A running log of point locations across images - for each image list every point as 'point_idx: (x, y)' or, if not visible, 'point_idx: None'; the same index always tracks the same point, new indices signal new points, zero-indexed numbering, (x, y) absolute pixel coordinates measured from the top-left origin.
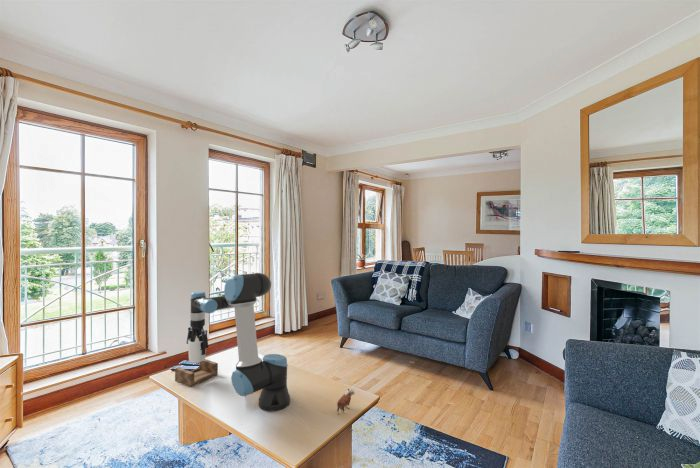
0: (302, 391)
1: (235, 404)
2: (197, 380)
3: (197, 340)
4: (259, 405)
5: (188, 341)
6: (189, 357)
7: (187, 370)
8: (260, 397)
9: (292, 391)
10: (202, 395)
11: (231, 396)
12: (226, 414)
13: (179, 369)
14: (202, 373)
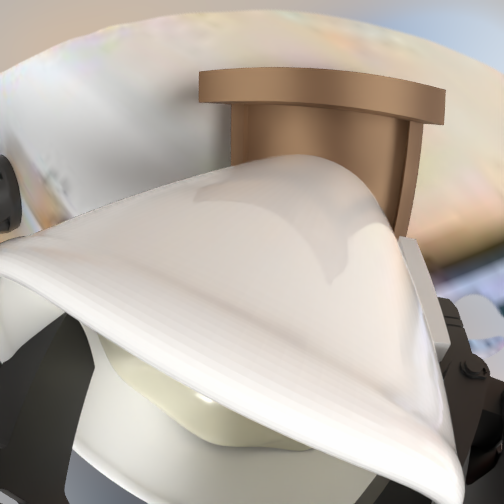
0: None
1: (31, 126)
2: (233, 130)
3: (342, 487)
4: (3, 159)
5: (155, 318)
6: (314, 159)
7: (297, 101)
8: (1, 178)
9: None
10: (124, 76)
11: (58, 148)
12: (22, 82)
13: (388, 83)
14: None
